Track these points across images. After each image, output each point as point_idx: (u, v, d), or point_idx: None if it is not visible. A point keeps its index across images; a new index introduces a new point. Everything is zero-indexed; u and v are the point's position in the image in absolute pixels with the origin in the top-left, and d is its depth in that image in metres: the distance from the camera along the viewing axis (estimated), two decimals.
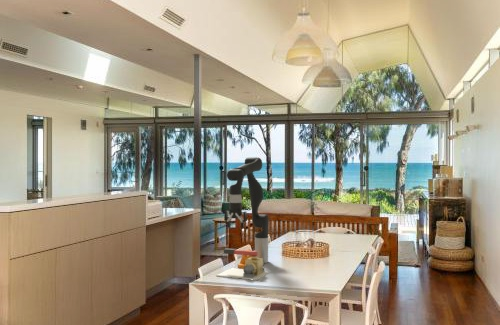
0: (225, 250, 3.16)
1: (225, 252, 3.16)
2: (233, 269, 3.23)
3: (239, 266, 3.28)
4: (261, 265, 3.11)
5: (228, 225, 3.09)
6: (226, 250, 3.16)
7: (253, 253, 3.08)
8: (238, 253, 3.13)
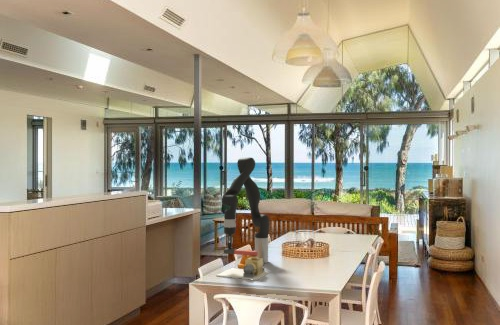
0: (225, 250, 3.16)
1: (225, 252, 3.16)
2: (233, 269, 3.23)
3: (239, 266, 3.28)
4: (261, 265, 3.11)
5: None
6: (226, 250, 3.16)
7: (253, 253, 3.08)
8: (238, 253, 3.13)
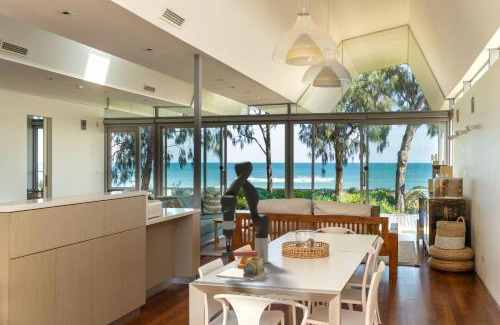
0: (223, 253, 3.06)
1: (223, 255, 3.06)
2: (233, 269, 3.23)
3: (239, 266, 3.28)
4: (261, 265, 3.11)
5: None
6: (225, 253, 3.06)
7: (255, 253, 3.08)
8: (238, 255, 3.08)
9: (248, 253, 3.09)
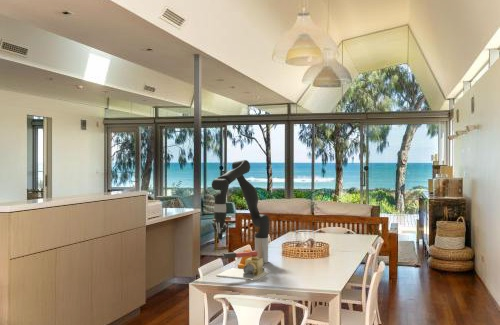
0: (227, 255, 3.01)
1: (227, 257, 3.01)
2: (233, 269, 3.23)
3: (239, 266, 3.28)
4: (261, 265, 3.11)
5: (221, 236, 3.11)
6: (228, 254, 3.01)
7: (256, 253, 3.09)
8: (240, 256, 3.05)
9: (249, 253, 3.08)
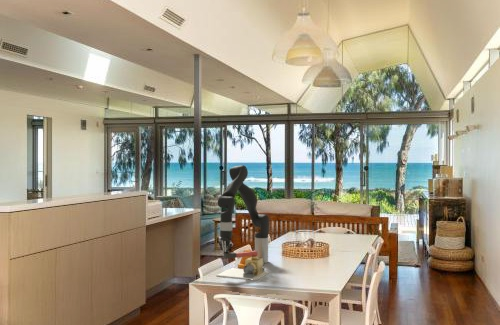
0: (227, 255, 3.00)
1: (227, 257, 3.00)
2: (233, 269, 3.23)
3: (239, 266, 3.28)
4: (261, 265, 3.11)
5: None
6: (228, 255, 3.01)
7: (256, 253, 3.09)
8: (240, 256, 3.05)
9: (249, 253, 3.08)
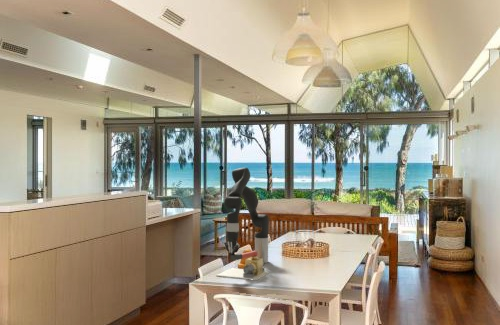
0: (235, 256, 2.95)
1: (235, 259, 2.95)
2: (233, 269, 3.23)
3: (239, 266, 3.28)
4: (261, 265, 3.11)
5: None
6: (236, 256, 2.96)
7: (257, 253, 3.09)
8: (245, 256, 3.02)
9: (251, 254, 3.07)
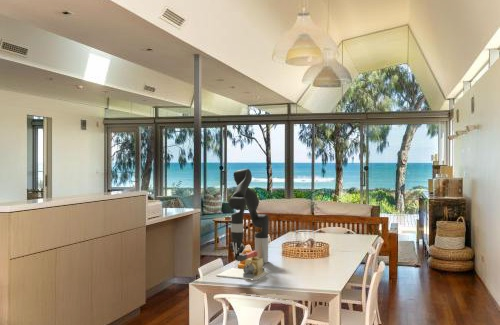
0: (242, 257, 2.93)
1: (242, 259, 2.93)
2: (233, 269, 3.23)
3: (239, 266, 3.28)
4: (261, 265, 3.11)
5: None
6: (242, 257, 2.94)
7: (257, 253, 3.10)
8: (248, 257, 3.01)
9: (253, 254, 3.07)
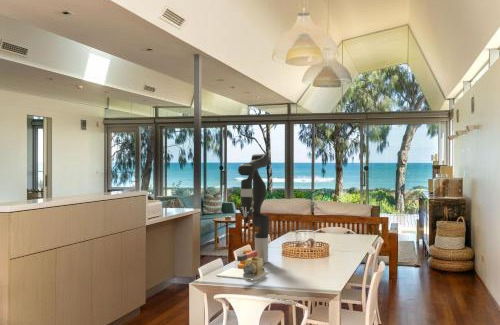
0: (242, 257, 2.93)
1: (242, 259, 2.93)
2: (233, 269, 3.23)
3: (239, 266, 3.28)
4: (261, 265, 3.11)
5: None
6: (243, 257, 2.93)
7: (257, 253, 3.10)
8: (248, 257, 3.01)
9: (253, 254, 3.07)
